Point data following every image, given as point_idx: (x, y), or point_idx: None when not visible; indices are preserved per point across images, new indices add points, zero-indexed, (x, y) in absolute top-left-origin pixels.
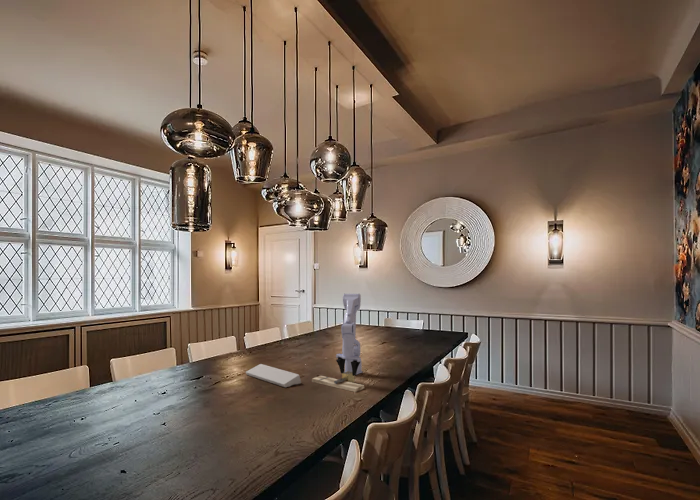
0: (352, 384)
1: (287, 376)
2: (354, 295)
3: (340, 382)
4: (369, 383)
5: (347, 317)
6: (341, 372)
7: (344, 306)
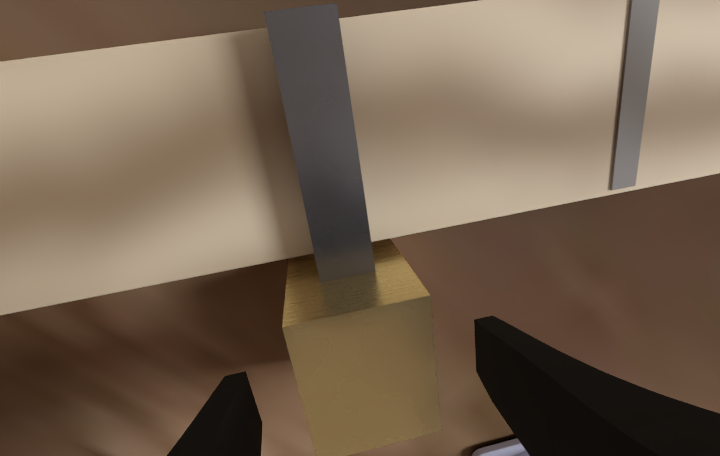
0: (110, 218)
1: None
2: None
3: None
4: (159, 443)
5: None
6: (482, 324)
7: None
